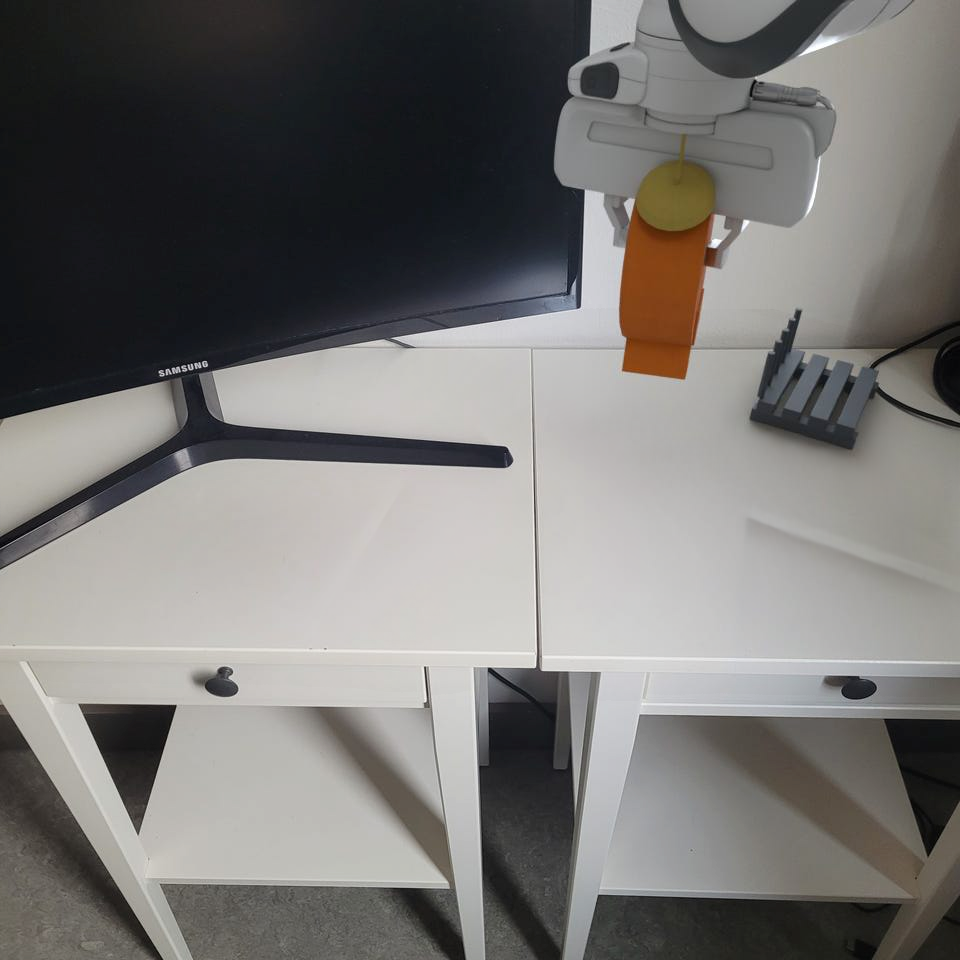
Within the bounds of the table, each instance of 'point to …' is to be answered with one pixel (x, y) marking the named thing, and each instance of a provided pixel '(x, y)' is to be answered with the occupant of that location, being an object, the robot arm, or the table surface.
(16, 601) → the table surface
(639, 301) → the alarm clock
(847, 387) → the rack
